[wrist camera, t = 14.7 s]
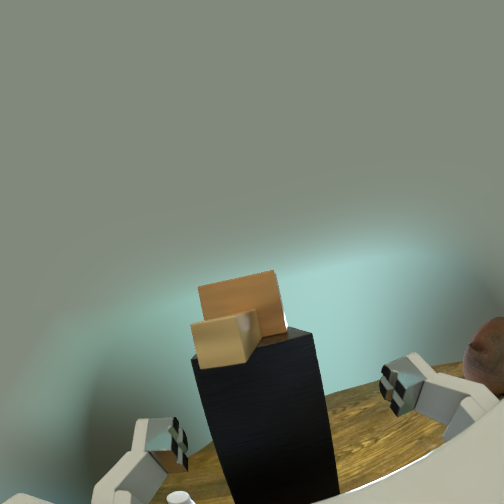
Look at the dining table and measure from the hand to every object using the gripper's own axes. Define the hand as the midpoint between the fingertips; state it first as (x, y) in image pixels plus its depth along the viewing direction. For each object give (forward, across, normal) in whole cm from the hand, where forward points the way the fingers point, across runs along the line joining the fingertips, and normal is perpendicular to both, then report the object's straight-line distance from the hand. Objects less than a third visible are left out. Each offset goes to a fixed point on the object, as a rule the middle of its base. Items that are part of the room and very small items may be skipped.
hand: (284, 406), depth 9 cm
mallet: (+11, +1, +5) cm, 12 cm away
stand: (-5, +1, +38) cm, 38 cm away
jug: (+10, -56, +46) cm, 73 cm away
